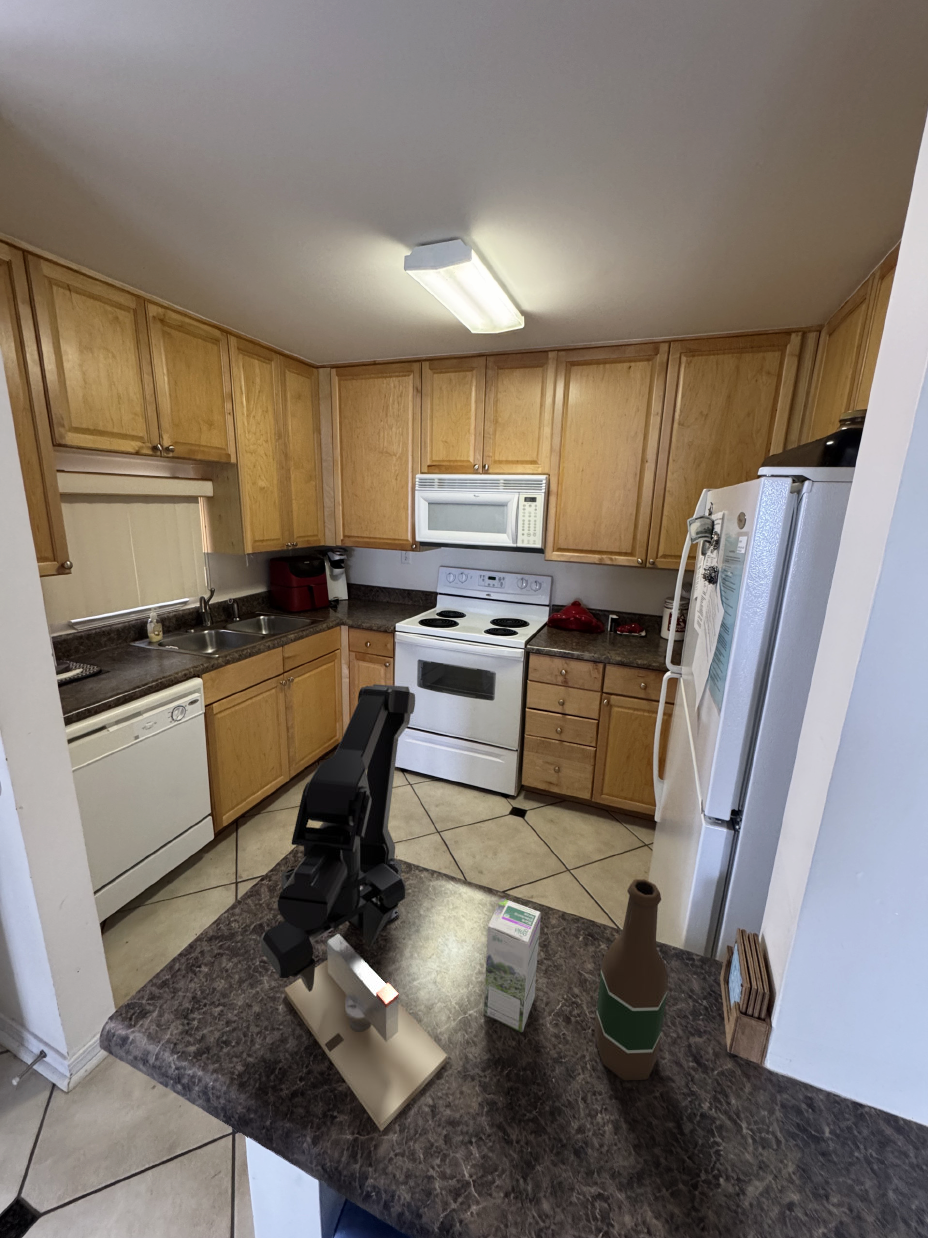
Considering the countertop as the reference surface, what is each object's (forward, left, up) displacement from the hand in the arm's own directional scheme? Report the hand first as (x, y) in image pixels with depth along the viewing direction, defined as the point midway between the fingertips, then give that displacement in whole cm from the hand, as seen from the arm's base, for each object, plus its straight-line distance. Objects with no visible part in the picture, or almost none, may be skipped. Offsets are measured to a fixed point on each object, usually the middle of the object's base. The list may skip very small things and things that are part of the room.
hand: (339, 966), depth 67 cm
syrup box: (-16, +17, -6) cm, 24 cm away
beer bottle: (-22, +31, -6) cm, 38 cm away
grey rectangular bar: (0, +5, -2) cm, 6 cm away
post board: (0, +5, -6) cm, 8 cm away
